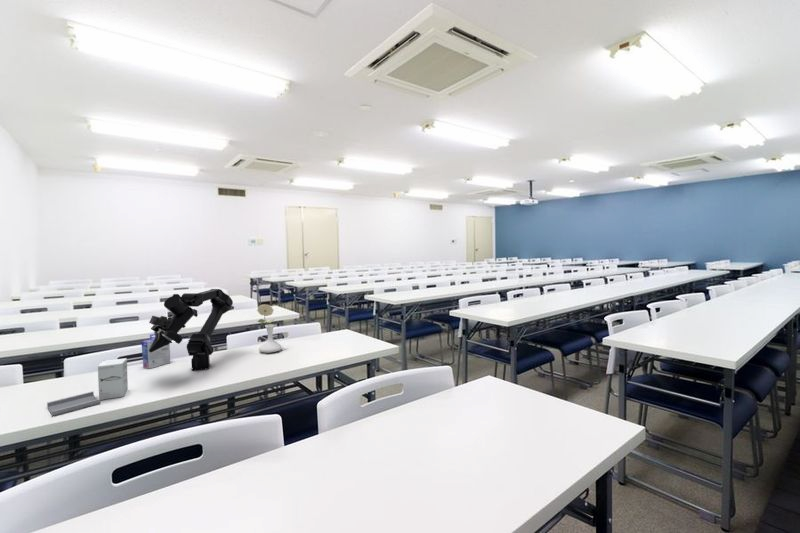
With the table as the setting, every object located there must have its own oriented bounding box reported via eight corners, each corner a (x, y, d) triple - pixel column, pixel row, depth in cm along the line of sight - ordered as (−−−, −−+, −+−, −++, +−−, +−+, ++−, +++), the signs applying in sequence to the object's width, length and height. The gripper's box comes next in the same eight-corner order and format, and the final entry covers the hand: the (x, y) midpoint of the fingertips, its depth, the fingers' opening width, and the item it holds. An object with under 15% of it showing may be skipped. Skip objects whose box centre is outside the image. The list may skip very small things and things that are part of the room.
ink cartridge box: (164, 361, 169) (163, 331, 168) (171, 362, 166) (170, 332, 166) (141, 367, 160) (140, 336, 159) (148, 369, 158) (147, 337, 157)
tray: (93, 395, 130) (92, 391, 130) (100, 403, 123) (100, 399, 123) (47, 407, 120) (47, 402, 120) (52, 416, 113) (52, 411, 113)
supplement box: (98, 401, 125) (96, 366, 124) (104, 393, 132) (102, 360, 131) (124, 396, 128) (122, 363, 128) (128, 389, 135) (127, 357, 134)
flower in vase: (286, 349, 189) (285, 303, 187) (273, 355, 178) (272, 306, 176) (264, 347, 192) (263, 302, 190) (251, 353, 181) (250, 305, 179)
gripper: (155, 305, 147) (124, 336, 139) (172, 310, 136) (139, 344, 128) (177, 320, 154) (148, 351, 146) (195, 326, 142) (164, 360, 134)
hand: (149, 351), depth 138 cm, fingers closed
